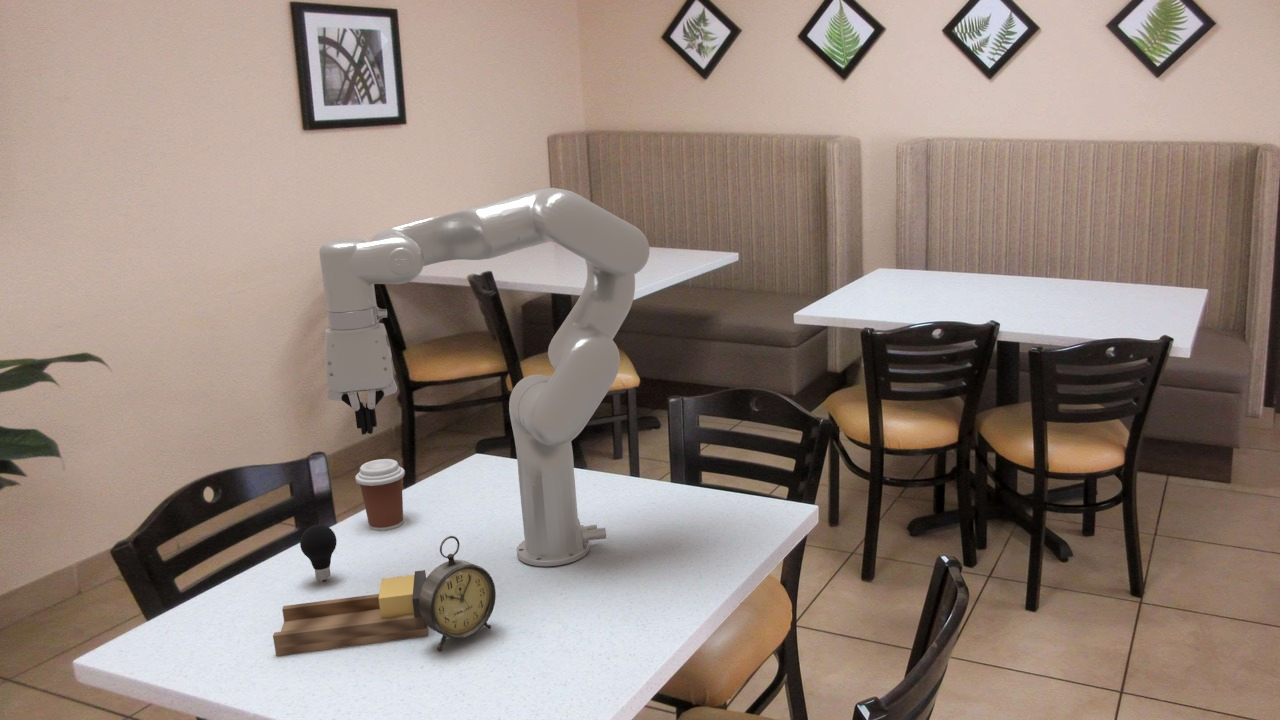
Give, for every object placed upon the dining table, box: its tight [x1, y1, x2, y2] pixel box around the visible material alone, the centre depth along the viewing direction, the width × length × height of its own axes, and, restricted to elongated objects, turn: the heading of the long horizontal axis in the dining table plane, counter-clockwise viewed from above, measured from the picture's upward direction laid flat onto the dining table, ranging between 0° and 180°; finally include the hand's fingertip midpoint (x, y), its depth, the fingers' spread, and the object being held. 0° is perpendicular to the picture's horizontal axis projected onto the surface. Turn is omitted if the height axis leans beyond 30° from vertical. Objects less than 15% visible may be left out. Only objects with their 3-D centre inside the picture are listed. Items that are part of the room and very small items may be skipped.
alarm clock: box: [419, 535, 497, 652], centre depth 160 cm, size 11×5×16 cm, turn 131°
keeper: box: [378, 574, 415, 618], centre depth 167 cm, size 5×7×5 cm
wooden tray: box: [272, 569, 429, 657], centre depth 166 cm, size 22×10×6 cm, turn 99°
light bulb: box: [299, 524, 338, 582], centre depth 184 cm, size 6×6×10 cm
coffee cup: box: [354, 458, 406, 532], centre depth 207 cm, size 9×9×12 cm
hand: (367, 431), depth 174 cm, fingers closed
